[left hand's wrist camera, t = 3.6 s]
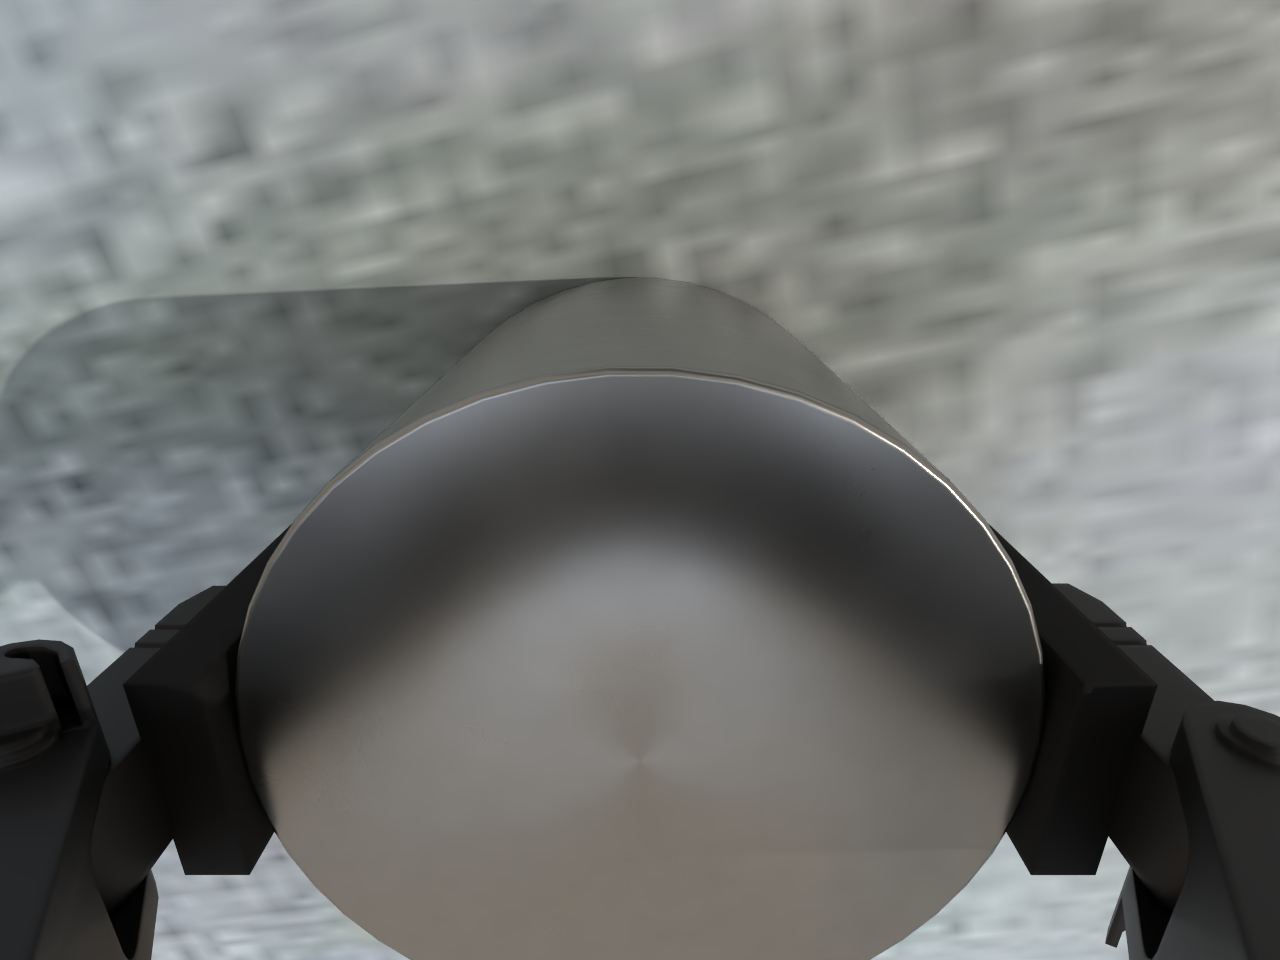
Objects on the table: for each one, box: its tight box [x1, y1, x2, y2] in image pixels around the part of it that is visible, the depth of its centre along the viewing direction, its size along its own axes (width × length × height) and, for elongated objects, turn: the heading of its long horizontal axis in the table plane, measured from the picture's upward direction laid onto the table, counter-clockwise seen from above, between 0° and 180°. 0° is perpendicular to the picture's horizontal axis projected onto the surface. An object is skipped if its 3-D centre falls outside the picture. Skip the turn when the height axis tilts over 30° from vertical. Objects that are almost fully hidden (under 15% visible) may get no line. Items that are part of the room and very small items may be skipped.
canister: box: [235, 278, 1046, 960], centre depth 12 cm, size 9×9×8 cm
